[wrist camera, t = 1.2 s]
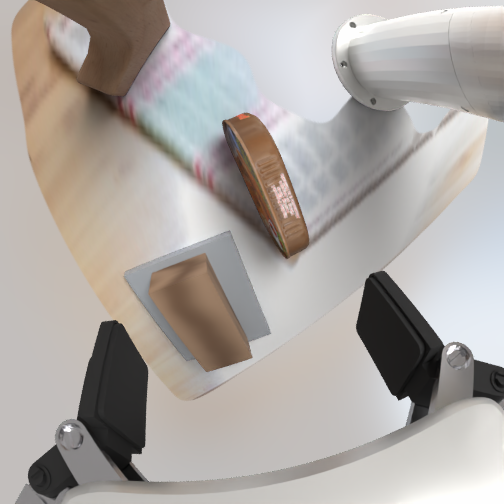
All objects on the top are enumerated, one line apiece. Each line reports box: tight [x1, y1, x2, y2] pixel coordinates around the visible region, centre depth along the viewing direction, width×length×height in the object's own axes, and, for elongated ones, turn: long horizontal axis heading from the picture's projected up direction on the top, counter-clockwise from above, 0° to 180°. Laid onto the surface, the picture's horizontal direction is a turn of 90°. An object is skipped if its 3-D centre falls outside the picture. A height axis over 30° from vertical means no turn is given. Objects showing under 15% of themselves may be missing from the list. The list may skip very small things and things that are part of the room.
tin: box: [222, 113, 309, 259], centre depth 26 cm, size 15×3×8 cm, turn 22°
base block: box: [148, 253, 252, 372], centre depth 34 cm, size 7×16×4 cm, turn 17°
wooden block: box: [36, 0, 170, 96], centre depth 12 cm, size 9×4×18 cm, turn 147°
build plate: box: [124, 231, 271, 361], centre depth 36 cm, size 14×18×1 cm
